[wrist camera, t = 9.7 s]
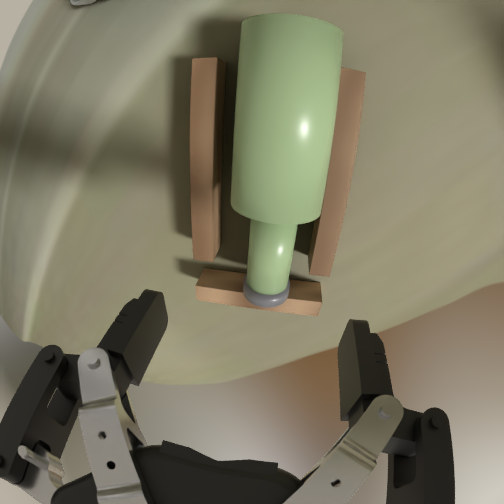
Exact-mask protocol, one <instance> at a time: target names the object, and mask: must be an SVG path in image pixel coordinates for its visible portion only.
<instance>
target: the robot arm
mask: <svg viewBox="0 0 504 504" xmlns="http://www.w3.org/2000/svg"><path fill="white" fill-rule="evenodd" d="M167 323H168V315H167V311H166V306H165V301H164V296H163V293H162V292H158V291H153V290H148V289H146V290H144V291H143V293H142V294H141V296H140V297H139V299H135V298H134V299H132V300H131V301H130V302H128V303H127V304H126V305H125V306H124V307H123V309H122V310H121V311H120V313H119V315H118V316H117V317H116V319H115V322H113V323H112V325H111V326H110V328H109V329H108V331H107V332H106V334H105V335H104V337H103V339H102V340H101V342H100V343H99V345H98V346H97V347H96V348H90V349H87V350H85V351H84V352H83V353H82V354H81V355H73V354H64V353H63V351H62V350H61V348H60V347H58V346H56V345H48V346H46V347H44V348H43V349H42V350H41V351H40V352H39V354H38V355H37V357H36V359H35V360H34V362H33V363H32V365H31V367H30V368H29V370H28V372H27V373H26V375H25V377H24V379H23V380H22V382H21V384H20V386H19V388H18V389H17V391H16V393H15V395H14V397H13V399H12V401H11V402H10V405H9V406H8V408H7V410H6V412H5V415H4V417H3V419H2V421H1V423H0V478H2V479H4V480H6V481H8V482H9V483H11V484H13V485H15V486H17V487H20V488H21V489H23V490H24V491H25V492H27V493H28V494H29V495H30V496H32V497H33V498H35V499H36V500H37V501H39V502H40V503H42V504H346V503H347V502H348V501H349V500H350V499H351V497H352V496H353V495H354V494H355V493H356V491H357V490H358V489H359V488H360V487H361V485H362V484H363V483H364V481H365V480H366V479H367V478H368V476H369V475H370V473H371V472H372V471H373V469H374V468H375V466H376V459H377V458H378V456H379V454H380V453H381V452H383V453H387V454H388V483H387V484H388V485H387V500H386V504H455V478H454V461H453V449H452V441H451V433H450V425H449V419H448V417H447V415H446V413H445V412H444V411H443V410H441V409H439V408H430V409H428V410H426V411H425V412H424V413H420V412H417V411H413V410H408V409H406V408H404V407H403V406H402V404H401V403H400V401H399V400H398V399H397V398H395V397H394V395H393V391H392V385H391V379H390V374H389V369H388V364H387V359H386V355H385V349H384V345H383V342H382V341H381V339H380V338H379V336H378V335H377V334H376V333H370V329H369V324H368V322H367V321H365V320H353V319H350V320H349V321H348V323H347V326H346V328H345V331H344V333H343V336H342V338H341V340H340V343H339V347H338V366H339V367H338V368H339V387H340V413H341V414H340V417H341V421H349V428H348V429H347V430H346V432H345V433H344V434H343V435H342V436H341V438H340V439H339V440H338V441H337V442H336V444H335V445H334V446H333V447H332V448H331V449H330V450H329V451H328V453H327V454H326V455H325V456H324V457H323V458H322V459H321V460H320V461H319V462H318V463H317V464H316V465H315V466H314V467H313V468H312V469H311V470H310V471H309V472H308V473H307V474H306V475H305V476H304V477H303V478H302V479H301V480H299V479H298V478H297V477H296V476H294V475H292V474H291V473H289V472H287V471H285V470H283V469H280V468H278V463H274V462H264V461H256V460H235V461H234V460H233V461H217V460H214V459H212V458H210V457H207V456H205V455H203V454H201V453H199V452H197V451H195V450H193V449H191V448H189V447H185V446H182V445H178V444H175V443H171V442H168V441H164V440H163V442H162V445H151V446H148V445H147V442H146V440H145V437H144V435H143V433H142V432H141V430H140V428H139V425H138V422H137V419H136V416H135V413H134V410H133V407H132V403H131V400H130V396H129V393H128V390H127V389H128V387H129V385H130V383H131V384H134V385H137V386H139V384H140V382H141V380H142V378H143V376H144V373H145V371H146V369H147V367H148V365H149V363H150V361H151V359H152V357H153V355H154V353H155V350H156V348H157V346H158V344H159V342H160V340H161V338H162V336H163V334H164V332H165V330H166V328H167ZM56 388H57V390H56V391H55V389H56ZM54 391H55V394H54V395H53V393H54ZM52 395H53V397H52ZM51 397H52V400H51V401H50V399H51ZM49 401H50V403H49ZM48 403H49V405H48ZM47 405H48V408H47ZM78 413H79V420H80V425H81V430H82V435H83V440H84V444H85V448H86V452H87V456H88V460H89V464H90V467H91V471H92V472H91V473H89V474H87V475H85V476H83V477H81V478H78V479H76V480H74V481H72V482H69V483H67V484H65V485H64V484H63V482H62V478H63V477H64V475H65V472H64V470H63V467H62V463H61V461H60V458H61V455H62V452H63V450H64V447H65V444H66V442H67V439H68V437H69V435H70V432H71V430H72V427H73V425H74V423H75V420H76V418H77V416H78Z"/></svg>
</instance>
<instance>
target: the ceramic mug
mask: <svg viewBox="0 0 504 504" xmlns="http://www.w3.org/2000/svg"><path fill="white" fill-rule="evenodd" d="M95 1H96V0H70V2H71V4H72V5H87V4H91V3H94V2H95Z"/></svg>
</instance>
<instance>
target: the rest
mask: <svg viewBox="0 0 504 504" xmlns="http://www.w3.org/2000/svg"><path fill="white" fill-rule="evenodd" d="M226 66H227V62H225V61H223V60H221V59H219V58H217V57H211V58H193V59H192V75H191V101H190V194H191V222H192V241H193V258H194V260H201V261H209V262H213V261H214V259H215V257H216V255H217V252H218V250H219V248H220V246H221V191H222V151H223V124H224V101H225V82H226ZM365 77H366V73H365V72H361V71H357V70H352V69H347V68H342V67H341V73H340V83H339V93H338V102H337V111H336V119H335V127H334V135H333V142H332V149H331V156H330V162H329V169H328V175H327V181H326V187H325V193H324V198H323V204H322V209H321V214H320V216H319V217H318V218H317V219H316V220H315V221H314V227H313V232H312V238H311V243H310V248H309V254H308V263H309V274H311V275H319V276H328V277H329V276H330V272H331V269H332V265H333V261H334V257H335V253H336V249H337V245H338V241H339V236H340V232H341V228H342V223H343V219H344V214H345V209H346V205H347V200H348V195H349V190H350V184H351V179H352V174H353V168H354V162H355V156H356V150H357V144H358V137H359V130H360V122H361V115H362V106H363V98H364V88H365ZM245 275H246V274H245V273H237V272H230V271H222V270H215V269H208V268H204V269H203V271H202V273H201V275H200V278H199V280H198V282H197V284H196V297H197V300H201V301H207V302H214V303H220V304H227V305H233V306H240V307H247V308H254V309H262V310H270V311H277V312H286V313H294V314H303V315H313V316H318V315H319V311H320V308H321V305H322V296H321V285H320V283H317V282H309V281H300V280H292V279H289V281H290V288H289V294H288V298H287V300H286V301H285V302H284V303H283V304H281V305H279V306H277V307H271V308H265V307H259V306H256V305H254V304H252V303H250V302H249V301H248V300H247V299H246V298H245V297H244V294H243V283H244V277H245Z"/></svg>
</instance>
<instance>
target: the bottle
mask: <svg viewBox="0 0 504 504" xmlns="http://www.w3.org/2000/svg"><path fill="white" fill-rule="evenodd" d="M342 48H343V32H342V30H341V29H339V28H338V27H336V26H335V25H333V24H331V23H328V22H326V21H323V20H320V19H316V18H313V17H308V16H303V15H296V14H281V13H275V14H262V15H256V16H252V17H249V18H247V19H245V20H244V21H242V24H241V36H240V49H239V62H238V75H237V90H236V106H235V123H234V141H233V161H232V183H231V206H232V208H233V209H234V210H235V211H236V212H238V213H239V214H241V215H243V216H245V217H247V218H250V219H251V222H250V236H249V250H248V265H247V274H246V275H245V277H244V283H243V294H244V297H245V298H246V299H247V300H248V301H249V302H250V303H252V304H254V305H256V306H259V307H265V308H271V307H277V306H279V305H281V304H283V303H284V302H285V301H286V300H287V298H288V294H289V288H290V281H289V273H290V267H291V262H292V256H293V250H294V244H295V238H296V232H297V225H298V224H304V223H308V222H311V221H314V220H316V219H317V218H318V217H319V216H320V214H321V209H322V204H323V198H324V193H325V187H326V181H327V175H328V169H329V162H330V156H331V149H332V142H333V135H334V127H335V119H336V111H337V102H338V93H339V83H340V73H341V61H342Z"/></svg>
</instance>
